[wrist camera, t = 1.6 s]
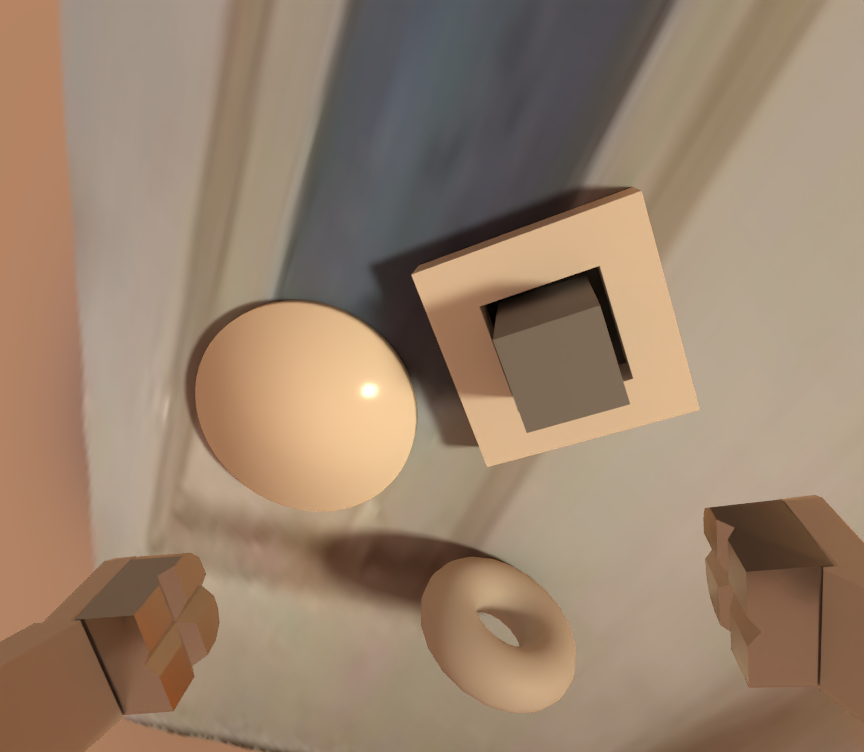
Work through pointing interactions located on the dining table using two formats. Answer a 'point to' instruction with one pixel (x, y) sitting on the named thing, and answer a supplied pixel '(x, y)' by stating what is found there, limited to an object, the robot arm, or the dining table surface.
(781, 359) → the dining table surface
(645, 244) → the pocket collar
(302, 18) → the dining table surface
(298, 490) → the peach ellipsoid
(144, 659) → the robot arm
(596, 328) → the block
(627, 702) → the dining table surface
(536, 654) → the donut
